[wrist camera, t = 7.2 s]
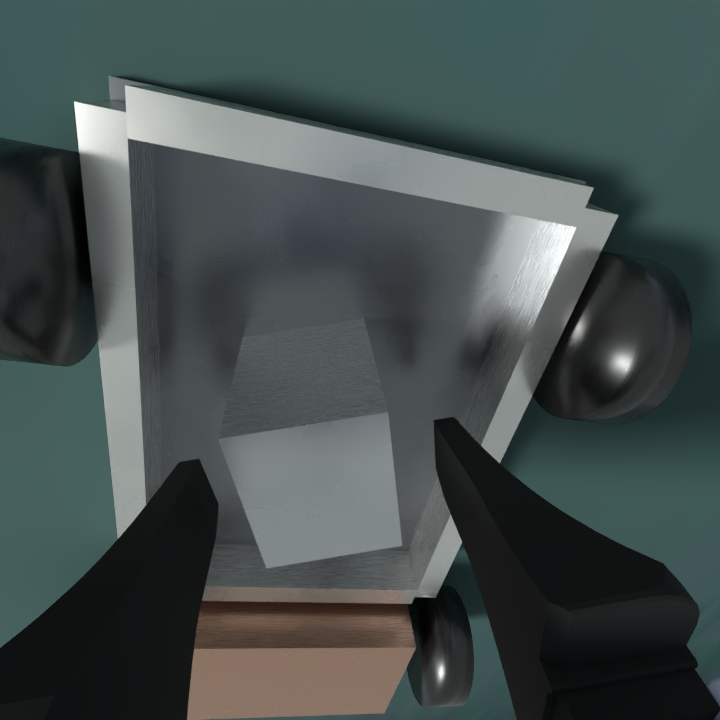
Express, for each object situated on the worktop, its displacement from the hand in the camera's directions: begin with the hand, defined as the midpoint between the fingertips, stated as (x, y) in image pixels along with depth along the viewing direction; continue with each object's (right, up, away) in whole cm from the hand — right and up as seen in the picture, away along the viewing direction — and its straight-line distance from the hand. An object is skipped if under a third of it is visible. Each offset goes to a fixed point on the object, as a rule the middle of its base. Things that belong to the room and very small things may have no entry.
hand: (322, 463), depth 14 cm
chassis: (-1, -1, +4) cm, 5 cm away
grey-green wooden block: (0, +2, +2) cm, 3 cm away
